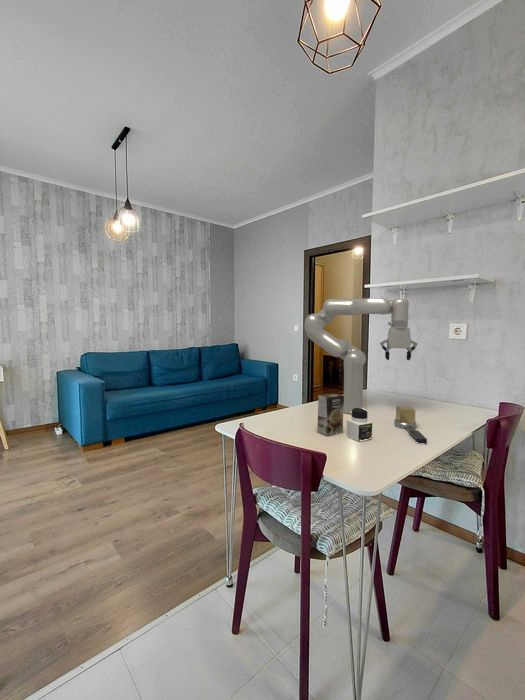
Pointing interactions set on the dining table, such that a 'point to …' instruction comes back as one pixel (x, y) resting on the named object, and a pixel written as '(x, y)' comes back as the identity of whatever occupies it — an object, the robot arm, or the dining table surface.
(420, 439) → the ratchet
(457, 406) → the dining table surface
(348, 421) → the medicine bottle
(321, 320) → the robot arm
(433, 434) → the dining table surface
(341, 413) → the coffee box
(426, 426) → the dining table surface
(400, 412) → the brass-coloured cube
